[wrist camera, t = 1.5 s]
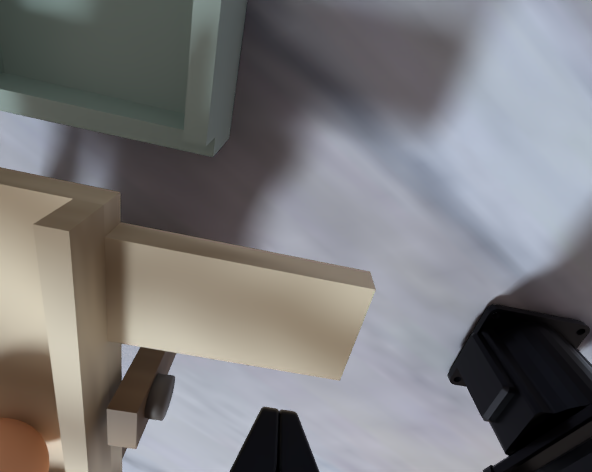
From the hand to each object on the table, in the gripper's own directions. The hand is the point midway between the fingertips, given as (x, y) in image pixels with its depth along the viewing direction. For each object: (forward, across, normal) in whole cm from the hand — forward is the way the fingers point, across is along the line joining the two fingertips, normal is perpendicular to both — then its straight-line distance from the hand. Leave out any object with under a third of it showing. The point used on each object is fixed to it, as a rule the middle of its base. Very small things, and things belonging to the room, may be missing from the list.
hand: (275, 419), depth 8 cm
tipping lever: (+6, +5, +5) cm, 9 cm away
